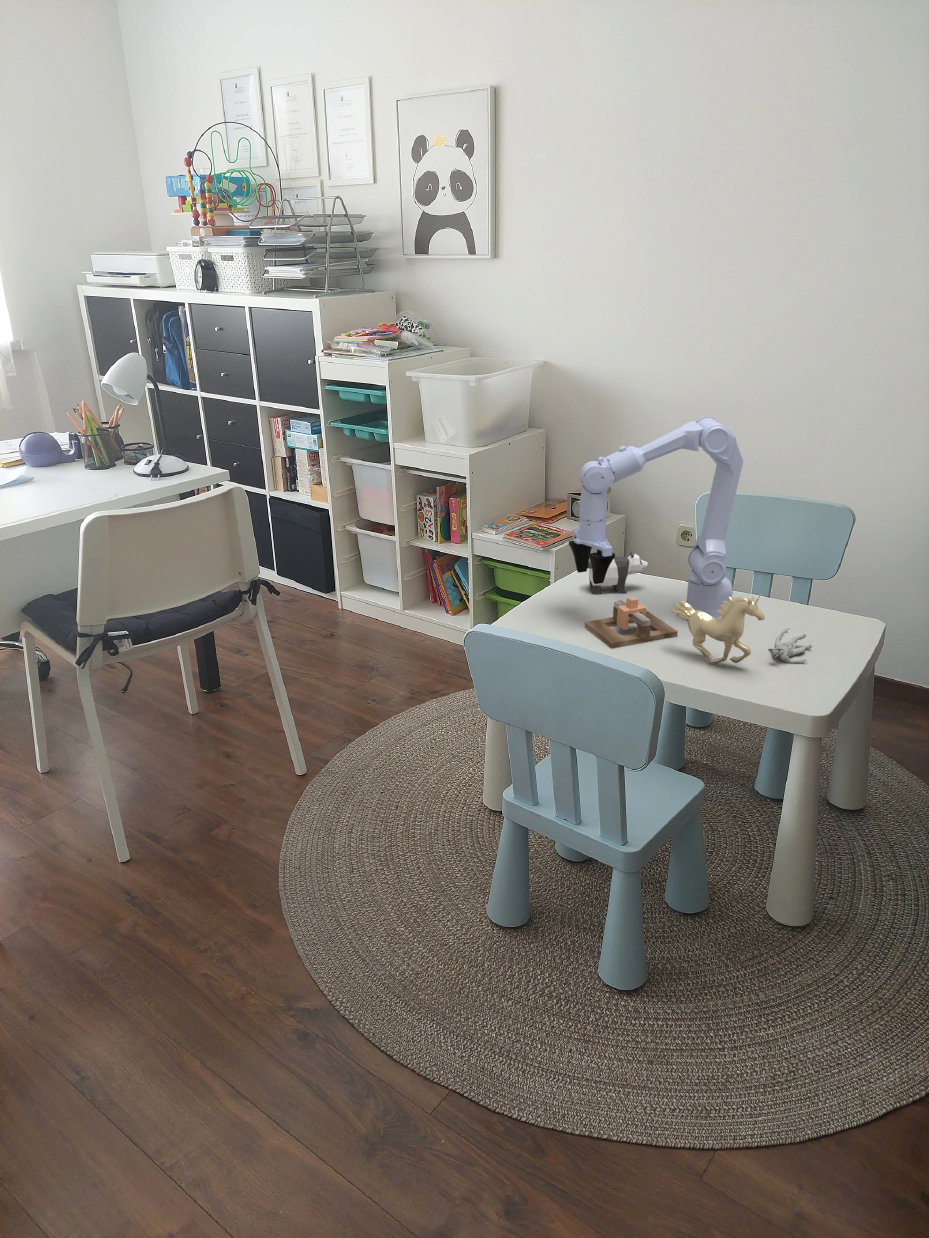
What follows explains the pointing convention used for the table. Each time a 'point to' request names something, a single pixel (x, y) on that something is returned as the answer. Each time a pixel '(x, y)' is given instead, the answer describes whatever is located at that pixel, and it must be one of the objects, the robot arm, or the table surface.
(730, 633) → the unicorn
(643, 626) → the brown wooden frame
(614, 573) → the giant panda
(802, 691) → the table surface
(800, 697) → the table surface
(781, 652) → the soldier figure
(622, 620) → the block
